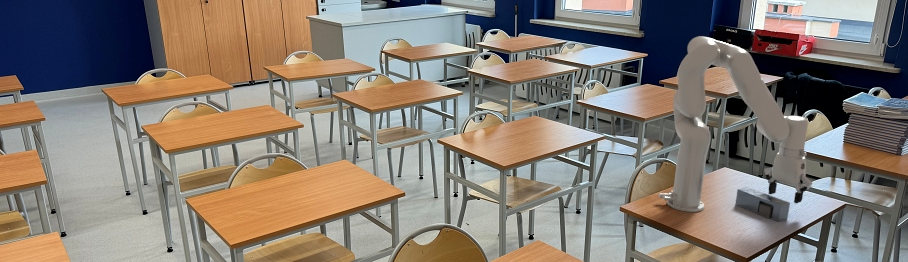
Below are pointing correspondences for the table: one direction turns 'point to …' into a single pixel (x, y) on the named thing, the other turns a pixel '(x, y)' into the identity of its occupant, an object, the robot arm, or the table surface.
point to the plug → (766, 210)
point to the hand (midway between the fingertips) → (784, 197)
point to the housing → (754, 198)
